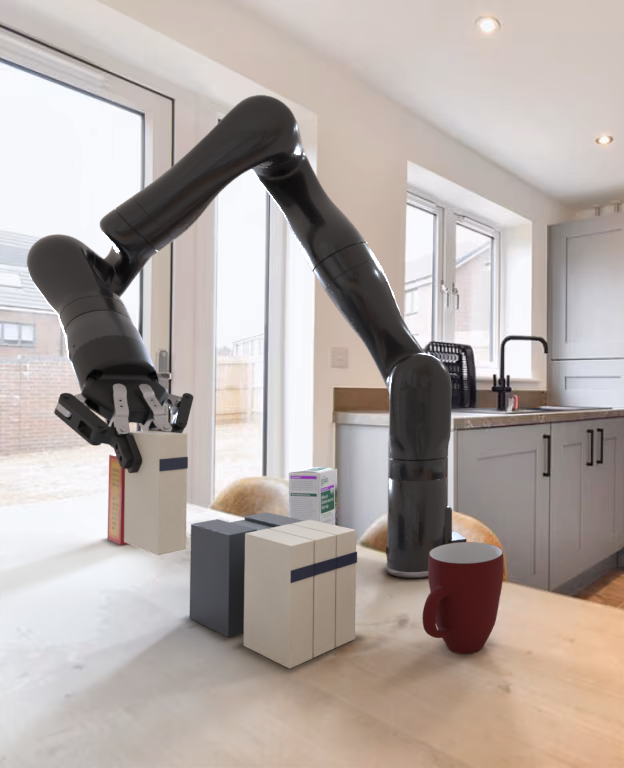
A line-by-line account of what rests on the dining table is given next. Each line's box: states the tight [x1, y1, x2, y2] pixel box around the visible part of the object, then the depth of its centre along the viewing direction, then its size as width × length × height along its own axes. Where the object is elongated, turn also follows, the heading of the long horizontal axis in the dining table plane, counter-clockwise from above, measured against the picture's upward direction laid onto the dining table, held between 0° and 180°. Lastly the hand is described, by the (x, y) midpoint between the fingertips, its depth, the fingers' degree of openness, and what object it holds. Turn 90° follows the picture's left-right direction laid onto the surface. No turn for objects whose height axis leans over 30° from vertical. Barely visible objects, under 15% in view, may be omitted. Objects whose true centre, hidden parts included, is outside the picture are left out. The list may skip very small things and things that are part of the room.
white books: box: [243, 520, 358, 670], centre depth 59 cm, size 8×9×12 cm
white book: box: [124, 430, 189, 556], centre depth 57 cm, size 3×9×12 cm, turn 55°
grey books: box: [189, 511, 303, 638], centre depth 66 cm, size 10×9×11 cm
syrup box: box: [288, 466, 339, 526], centre depth 90 cm, size 6×6×14 cm
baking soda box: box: [107, 453, 129, 546], centre depth 102 cm, size 10×6×16 cm
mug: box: [422, 541, 504, 655], centre depth 57 cm, size 10×8×10 cm
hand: (153, 465), depth 58 cm, fingers closed on white book, 2 cm apart
